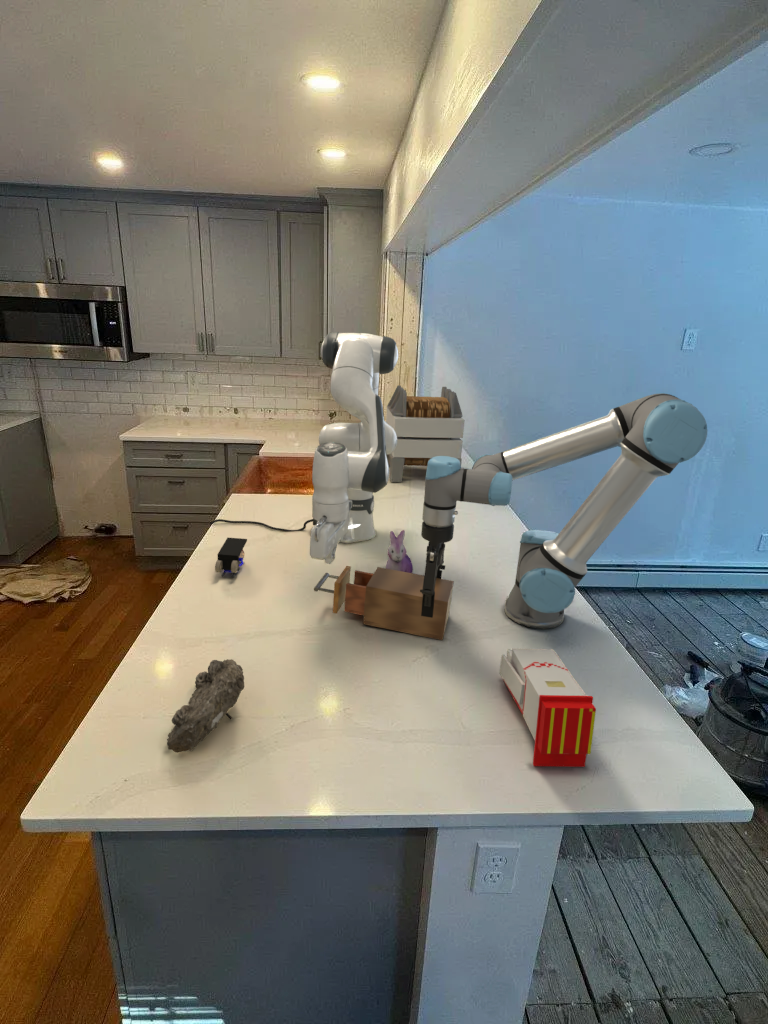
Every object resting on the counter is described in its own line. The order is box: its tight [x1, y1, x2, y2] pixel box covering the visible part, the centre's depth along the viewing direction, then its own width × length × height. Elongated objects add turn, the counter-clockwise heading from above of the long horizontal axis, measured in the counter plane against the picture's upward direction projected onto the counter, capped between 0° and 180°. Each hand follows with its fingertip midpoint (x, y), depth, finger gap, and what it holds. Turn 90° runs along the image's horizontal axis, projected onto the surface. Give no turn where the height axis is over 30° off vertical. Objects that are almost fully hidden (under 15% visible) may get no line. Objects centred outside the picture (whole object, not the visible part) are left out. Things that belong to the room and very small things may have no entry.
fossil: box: [166, 658, 245, 754], centre depth 106 cm, size 22×10×15 cm
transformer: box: [385, 384, 465, 483], centre depth 268 cm, size 34×33×41 cm
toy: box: [499, 648, 597, 768], centre depth 111 cm, size 12×13×30 cm
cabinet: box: [362, 566, 455, 641], centre depth 142 cm, size 20×11×11 cm, turn 77°
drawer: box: [313, 565, 374, 616], centre depth 144 cm, size 24×10×8 cm, turn 77°
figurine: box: [385, 529, 414, 573], centre depth 164 cm, size 9×10×15 cm
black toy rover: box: [214, 537, 248, 578], centre depth 166 cm, size 7×8×15 cm
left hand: (329, 561), depth 143 cm, fingers closed
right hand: (430, 604), depth 141 cm, fingers closed on cabinet, 11 cm apart
